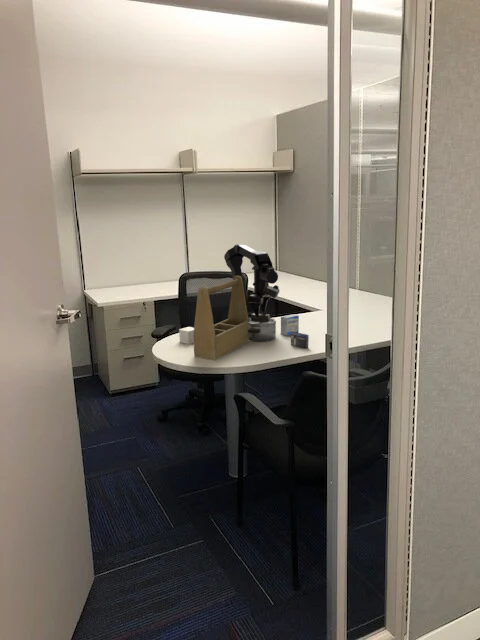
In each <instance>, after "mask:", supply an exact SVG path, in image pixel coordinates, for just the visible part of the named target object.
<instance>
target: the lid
mask: <svg viewBox="0 0 480 640" xmlns="http://www.w3.org/2000/svg"><path fill="white" fill-rule="evenodd" d="M270 315H271V314H270V313H269V314H268V313H267V314H265V313H259V316H256V315H255V313H254V312H253V314H252V315H251V317H250V318H251V320H249V322H250V323H254V324H267V323H271V322H272V320H270V318H271V316H270Z"/></svg>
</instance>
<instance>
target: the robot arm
mask: <svg viewBox="0 0 480 640" xmlns="http://www.w3.org/2000/svg"><path fill="white" fill-rule="evenodd" d="M223 255H224V256H223V258H224V261H225V263H226V266H227V267H228V268H229V270H230V271H231V272H230V273H231V277H232V279H233V278H234V276H241V278H242V281H243V287H244V293H245V300H246V307H247V313H248V318H251V315H252V314H253V313H255V315H256V316H259V314H260V309H261V312H262V313H265V312H266V309H267V305H268V301H269V300H270V299H271V298H272V299H276V298H277V297H278V296H279V293H280V288H279V285H278V284H275V283H276V282H277V281H278V280H279V275H278V272H277V271H275V268H274V266H273V263H272V260H271V258H270V255H269V254H268V252H266V251H258V250H256V249H254V248H251V247H250V246H248V245H247V244H246V243H236V244H234V245H233V247H231V248H230V249H228V250H227V251H226V252H225V254H223ZM244 257H245V258H247V259H249V260H250V261H249V262H250V263H251V264H252V265H253V267H251V269H252V270H253V283H252V286H253V292H252V294H250V295H249V296H248V295H247V291H246V286H245V282H244V277H243V272H242V265H243V262H244V260H243V259H244ZM269 284H272V285H273V284H275V285H274V286H270V285H269Z"/></svg>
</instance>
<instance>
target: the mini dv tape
mask: <svg viewBox="0 0 480 640" xmlns="http://www.w3.org/2000/svg"><path fill="white" fill-rule="evenodd" d="M309 336H310V335H309V334H307V333H301V332H298V333H297V332H291V335H290V346H293V347H295V348H296V347H297V348H301V349H305V350H306V349H309V339H310V337H309Z"/></svg>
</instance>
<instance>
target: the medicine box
mask: <svg viewBox="0 0 480 640" xmlns="http://www.w3.org/2000/svg"><path fill="white" fill-rule="evenodd" d="M299 322H300V317H299V315H298V314H287V315H284V316H281V317H280V335H283V336H291V332H297V333H300V332H299V329H300V327H299V325H300V323H299Z"/></svg>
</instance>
